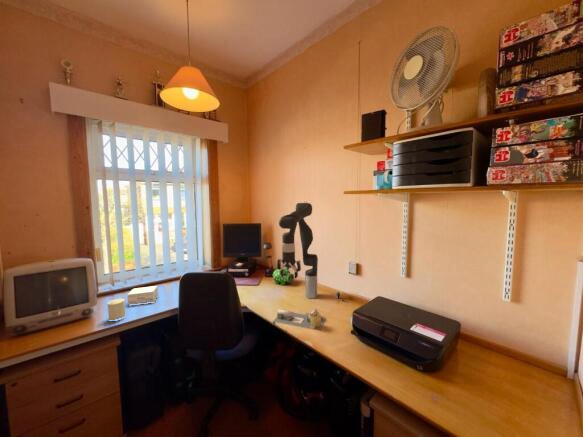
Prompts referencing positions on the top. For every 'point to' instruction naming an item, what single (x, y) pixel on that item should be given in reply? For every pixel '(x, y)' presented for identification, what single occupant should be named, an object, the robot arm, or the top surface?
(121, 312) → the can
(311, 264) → the robot arm
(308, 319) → the shaft base
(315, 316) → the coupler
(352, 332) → the hand tool
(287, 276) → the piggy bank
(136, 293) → the supplement box
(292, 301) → the top surface
